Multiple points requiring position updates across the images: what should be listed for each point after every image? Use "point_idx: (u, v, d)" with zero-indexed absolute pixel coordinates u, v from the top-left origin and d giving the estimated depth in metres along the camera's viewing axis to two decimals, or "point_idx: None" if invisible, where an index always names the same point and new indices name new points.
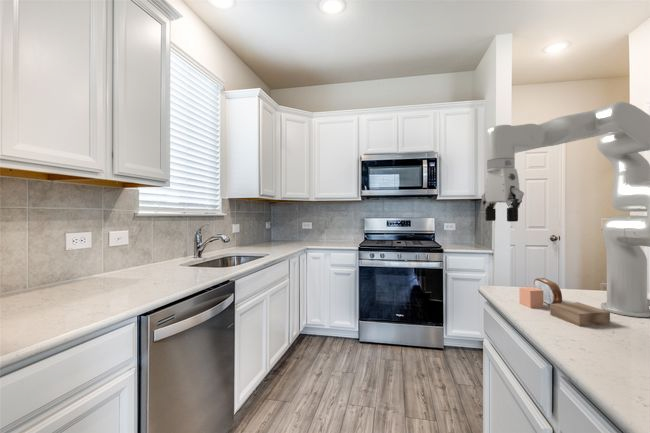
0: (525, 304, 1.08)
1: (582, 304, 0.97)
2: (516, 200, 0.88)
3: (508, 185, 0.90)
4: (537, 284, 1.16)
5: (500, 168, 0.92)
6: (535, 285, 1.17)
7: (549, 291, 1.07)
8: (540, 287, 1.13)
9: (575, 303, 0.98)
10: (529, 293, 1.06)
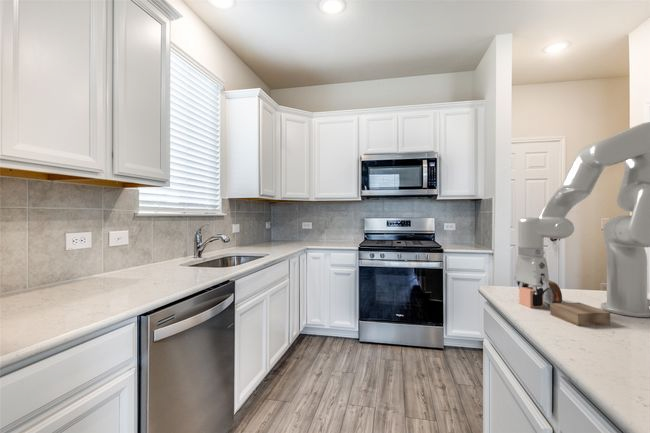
0: (525, 304, 1.08)
1: (583, 304, 0.97)
2: (541, 290, 1.03)
3: (539, 273, 1.03)
4: None
5: (531, 256, 1.05)
6: None
7: (549, 291, 1.07)
8: None
9: (576, 303, 0.98)
10: (529, 293, 1.06)
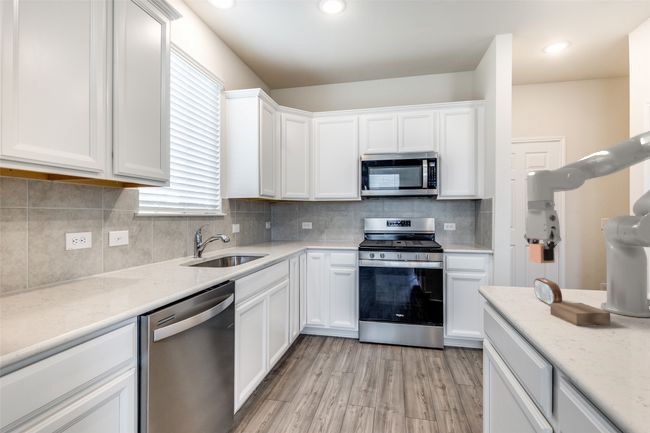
0: (535, 260, 1.04)
1: (584, 304, 0.97)
2: (552, 243, 0.99)
3: (549, 225, 1.00)
4: (537, 284, 1.16)
5: (541, 209, 1.02)
6: (535, 285, 1.17)
7: (549, 291, 1.07)
8: (540, 287, 1.13)
9: (577, 303, 0.98)
10: (539, 248, 1.03)
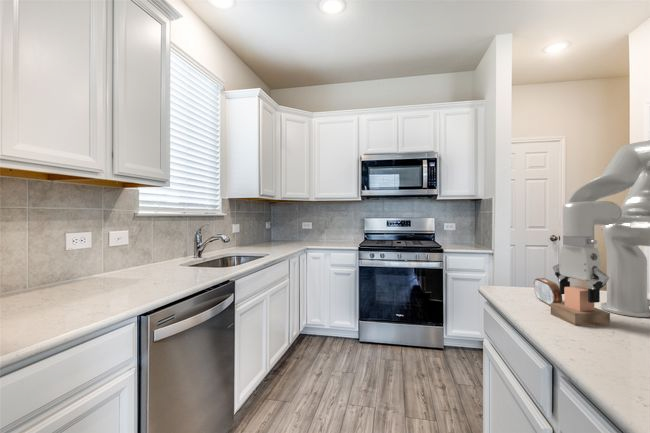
0: (572, 306, 0.93)
1: None
2: (600, 283, 0.86)
3: (590, 265, 0.89)
4: (537, 284, 1.16)
5: (580, 247, 0.91)
6: (535, 285, 1.17)
7: (549, 291, 1.07)
8: (540, 287, 1.13)
9: None
10: (578, 294, 0.92)
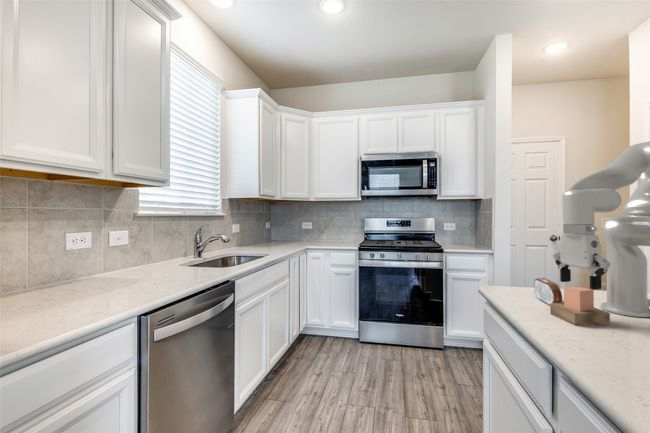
0: (572, 306, 0.93)
1: None
2: (601, 270, 0.86)
3: (591, 253, 0.89)
4: (537, 284, 1.16)
5: (581, 234, 0.91)
6: (535, 285, 1.17)
7: (549, 291, 1.07)
8: (540, 287, 1.13)
9: None
10: (578, 294, 0.91)
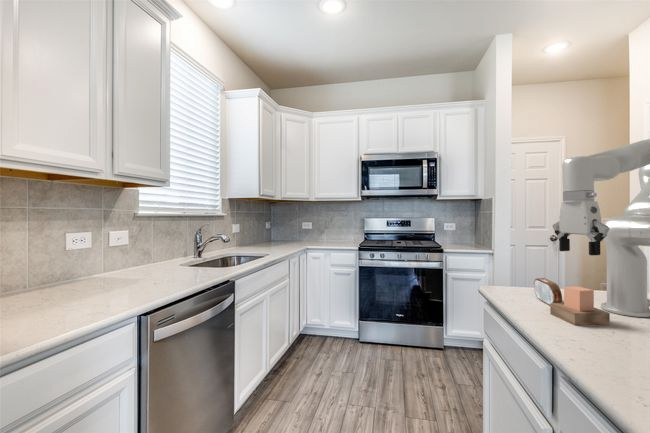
0: (572, 306, 0.93)
1: None
2: (601, 234, 0.86)
3: (590, 218, 0.89)
4: (537, 284, 1.16)
5: (580, 200, 0.90)
6: (535, 285, 1.17)
7: (549, 291, 1.07)
8: (540, 287, 1.13)
9: None
10: (578, 294, 0.91)
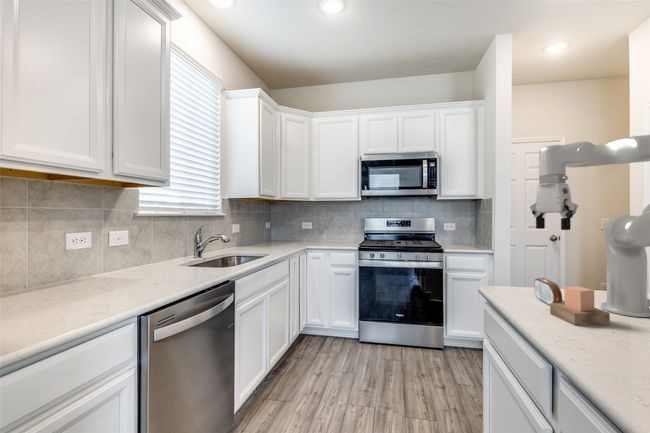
0: (573, 306, 0.93)
1: None
2: (571, 211, 1.00)
3: (562, 198, 1.03)
4: (537, 284, 1.16)
5: (554, 183, 1.04)
6: (535, 285, 1.17)
7: (549, 291, 1.07)
8: (540, 287, 1.13)
9: None
10: (578, 294, 0.91)
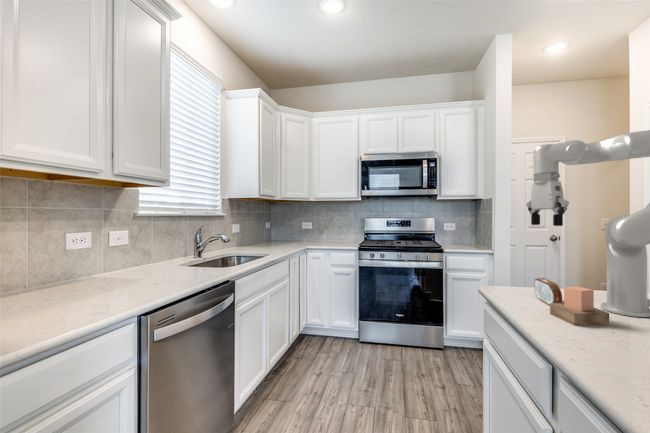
0: (573, 306, 0.93)
1: None
2: (562, 208, 1.05)
3: (554, 195, 1.07)
4: (537, 284, 1.16)
5: (547, 181, 1.09)
6: (535, 285, 1.17)
7: (549, 291, 1.07)
8: (540, 287, 1.13)
9: None
10: (579, 294, 0.91)
